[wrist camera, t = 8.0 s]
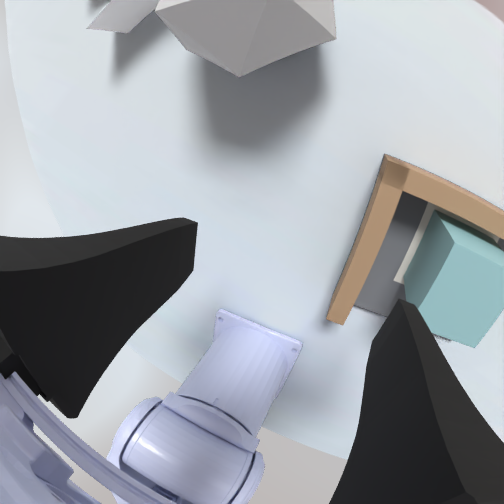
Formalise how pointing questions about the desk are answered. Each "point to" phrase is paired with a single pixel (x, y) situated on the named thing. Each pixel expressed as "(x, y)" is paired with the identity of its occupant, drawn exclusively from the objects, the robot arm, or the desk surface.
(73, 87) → the desk surface
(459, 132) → the desk surface
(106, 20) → the file organizer
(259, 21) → the die
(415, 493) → the robot arm
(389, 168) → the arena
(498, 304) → the cube
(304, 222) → the desk surface
